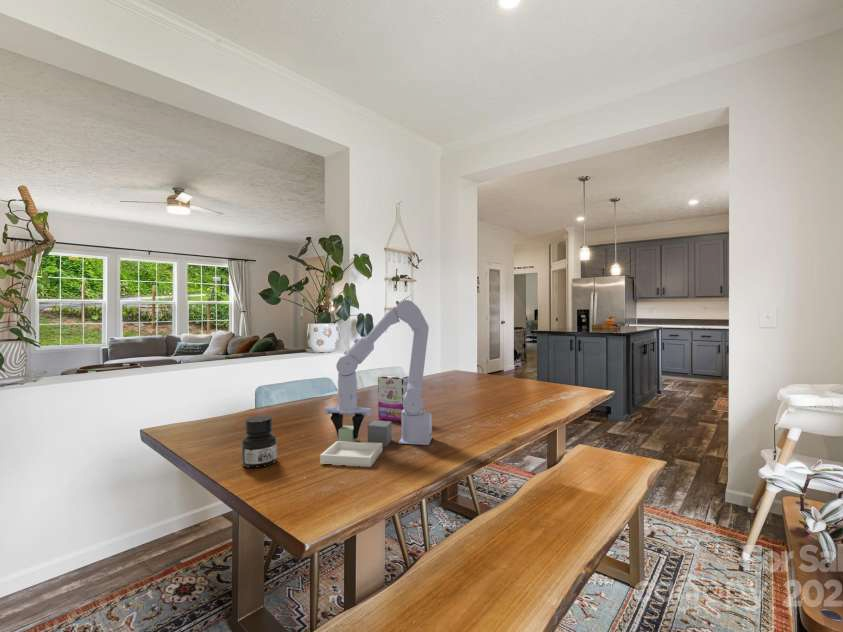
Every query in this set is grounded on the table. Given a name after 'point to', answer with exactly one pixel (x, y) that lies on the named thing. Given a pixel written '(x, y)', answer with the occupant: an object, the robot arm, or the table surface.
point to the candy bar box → (391, 396)
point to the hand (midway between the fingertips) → (348, 437)
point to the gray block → (380, 432)
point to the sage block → (346, 434)
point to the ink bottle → (259, 442)
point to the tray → (352, 453)
